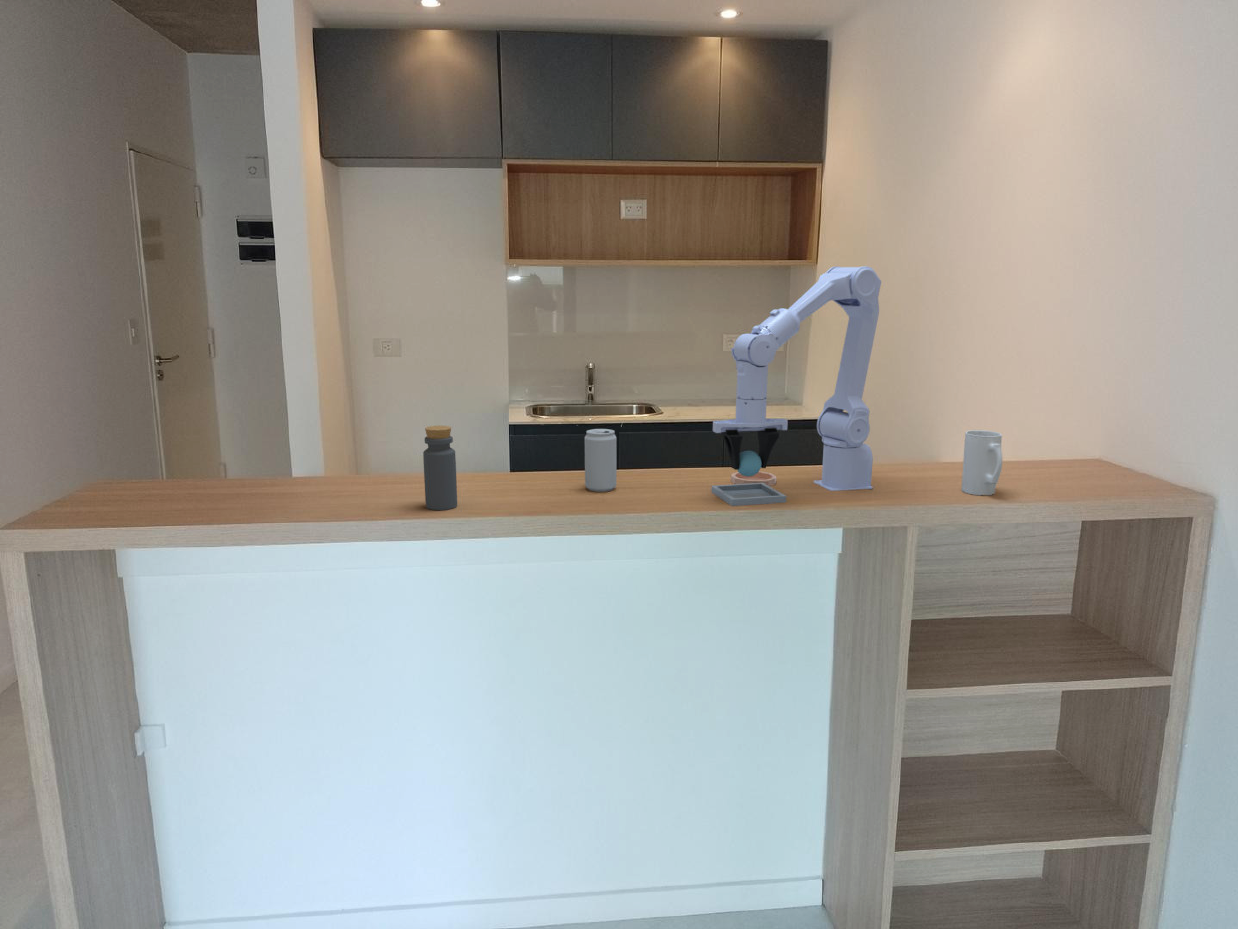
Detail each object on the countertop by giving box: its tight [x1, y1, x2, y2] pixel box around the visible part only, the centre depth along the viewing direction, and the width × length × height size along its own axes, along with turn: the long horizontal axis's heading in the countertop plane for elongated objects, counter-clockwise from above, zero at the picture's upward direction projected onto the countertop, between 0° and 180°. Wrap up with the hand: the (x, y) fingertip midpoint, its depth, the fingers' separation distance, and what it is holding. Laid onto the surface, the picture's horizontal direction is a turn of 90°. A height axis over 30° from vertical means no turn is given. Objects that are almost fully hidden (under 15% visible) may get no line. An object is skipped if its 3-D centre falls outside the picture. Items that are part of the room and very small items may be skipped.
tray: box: [710, 483, 787, 507], centre depth 168 cm, size 11×11×2 cm
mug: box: [961, 429, 1003, 496], centre depth 171 cm, size 10×7×12 cm, turn 9°
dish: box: [730, 470, 777, 487], centre depth 180 cm, size 9×9×2 cm
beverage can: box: [584, 428, 617, 493], centre depth 174 cm, size 6×6×12 cm
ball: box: [736, 450, 762, 477], centre depth 167 cm, size 5×5×5 cm
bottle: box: [422, 425, 458, 511], centre depth 161 cm, size 6×6×15 cm
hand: (748, 467), depth 167 cm, fingers closed on ball, 5 cm apart
